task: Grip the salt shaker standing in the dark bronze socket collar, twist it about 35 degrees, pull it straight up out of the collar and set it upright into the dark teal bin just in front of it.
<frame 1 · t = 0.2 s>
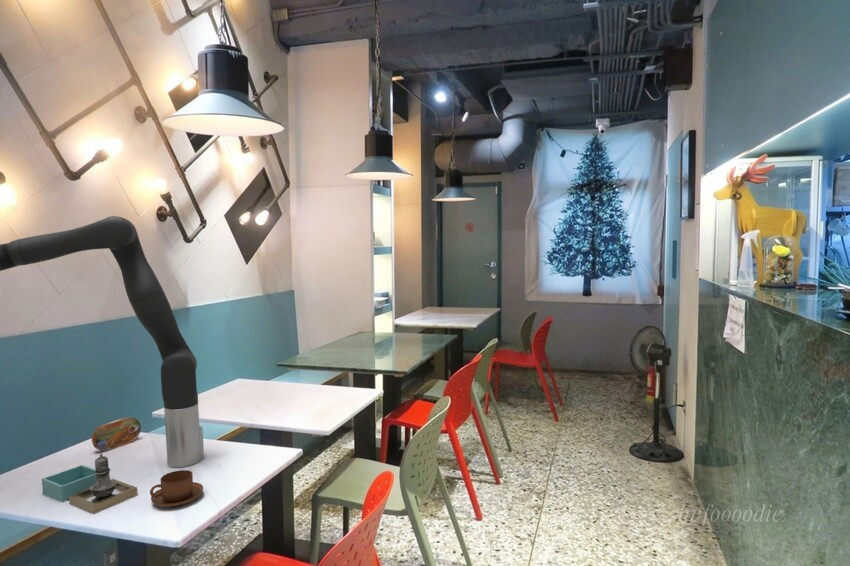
tin: (117, 446, 172), on the table
socket collar: (104, 499, 135), on the table
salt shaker: (104, 499, 135), resting in socket collar
cup and saucer: (178, 500, 134), on the table
bin: (73, 489, 141), on the table
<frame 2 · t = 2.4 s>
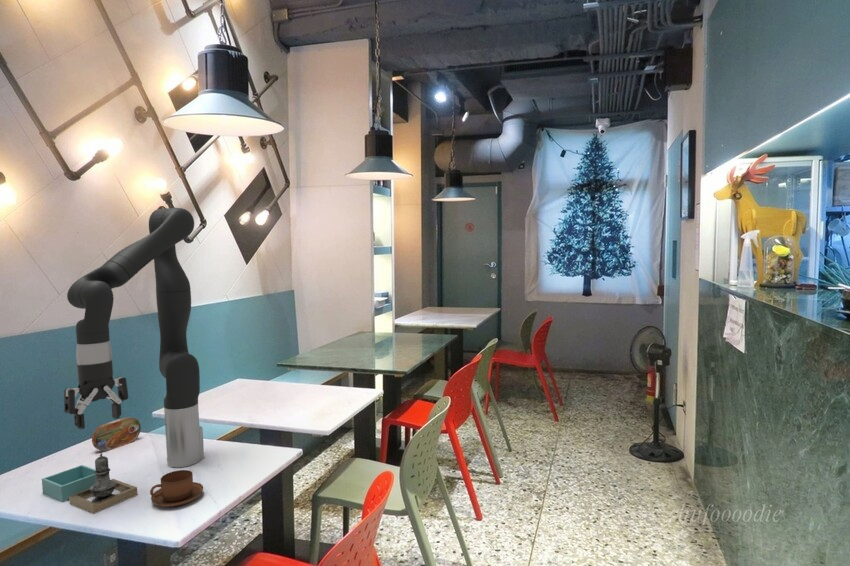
hand: (98, 423, 133), 20 cm above the table, tool pointing down, fingers open, 8 cm apart
nothing on the table moved.
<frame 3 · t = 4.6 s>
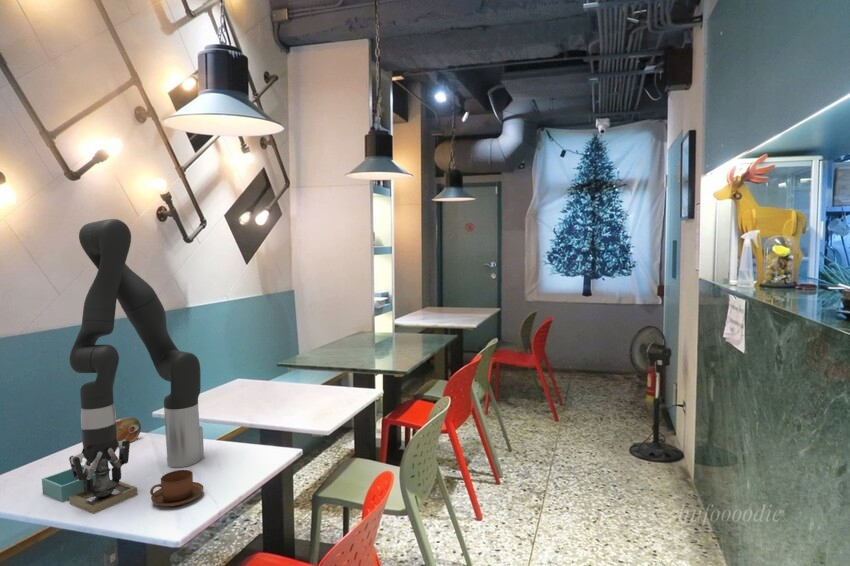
hand: (103, 487, 135), 3 cm above the table, tool pointing down, fingers closed on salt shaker, 6 cm apart
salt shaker: (104, 499, 135), resting in socket collar, touching gripper
everything else where it was.
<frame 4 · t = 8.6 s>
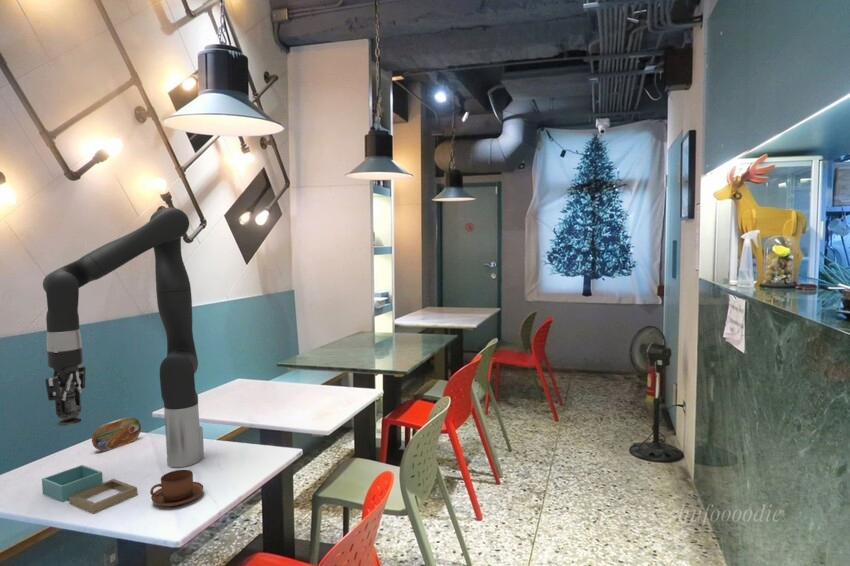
hand: (68, 410, 139), 22 cm above the table, tool pointing down, fingers closed on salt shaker, 6 cm apart
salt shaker: (69, 423, 139), point 18 cm above the table, touching gripper
everything else where it was.
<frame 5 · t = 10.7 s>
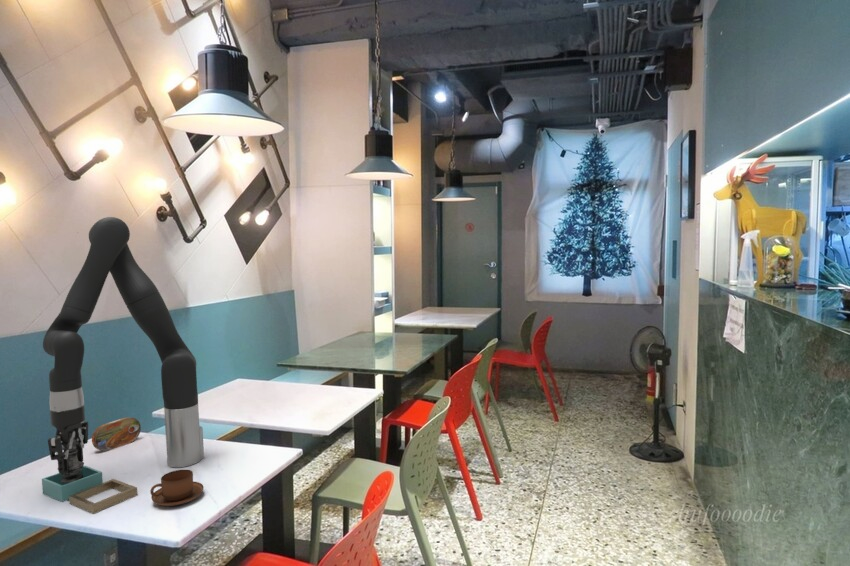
hand: (71, 467, 140), 6 cm above the table, tool pointing down, fingers closed on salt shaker, 6 cm apart
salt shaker: (71, 479, 141), point 3 cm above the table, touching gripper
everything else where it was.
when the fingers open (5 cm above the table, at t = 11.4 s): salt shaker drops 1 cm, resting on bin.
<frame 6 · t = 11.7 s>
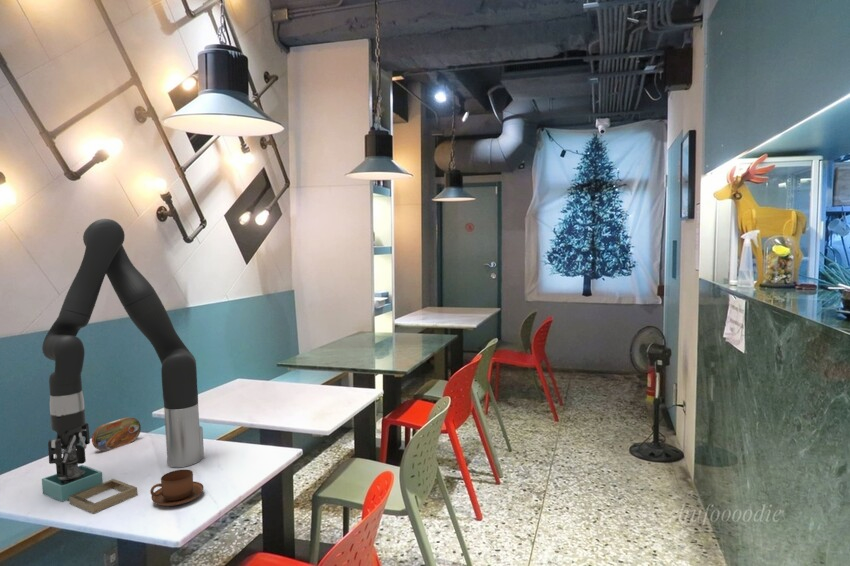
hand: (71, 469, 140), 6 cm above the table, tool pointing down, fingers open, 8 cm apart
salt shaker: (73, 488, 140), resting on bin
everything else where it was.
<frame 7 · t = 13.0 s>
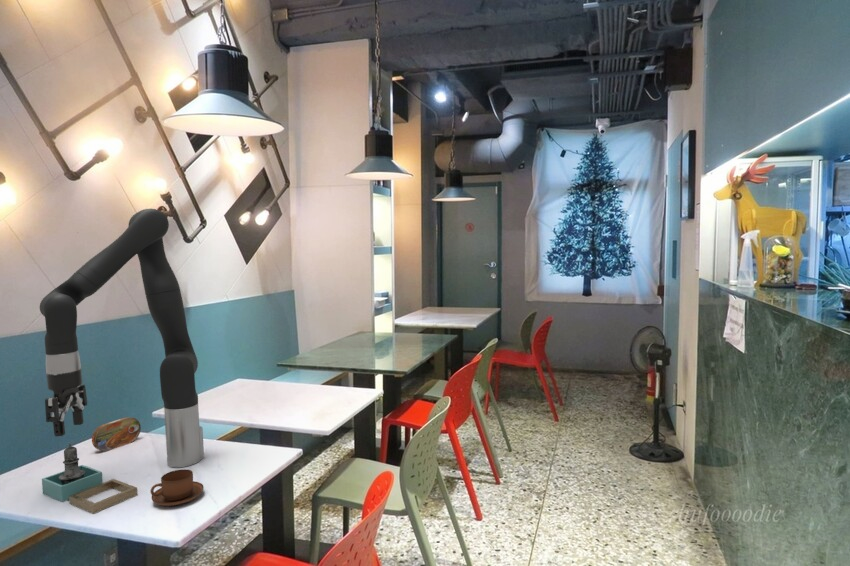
hand: (69, 429, 139), 16 cm above the table, tool pointing down, fingers open, 8 cm apart
nothing on the table moved.
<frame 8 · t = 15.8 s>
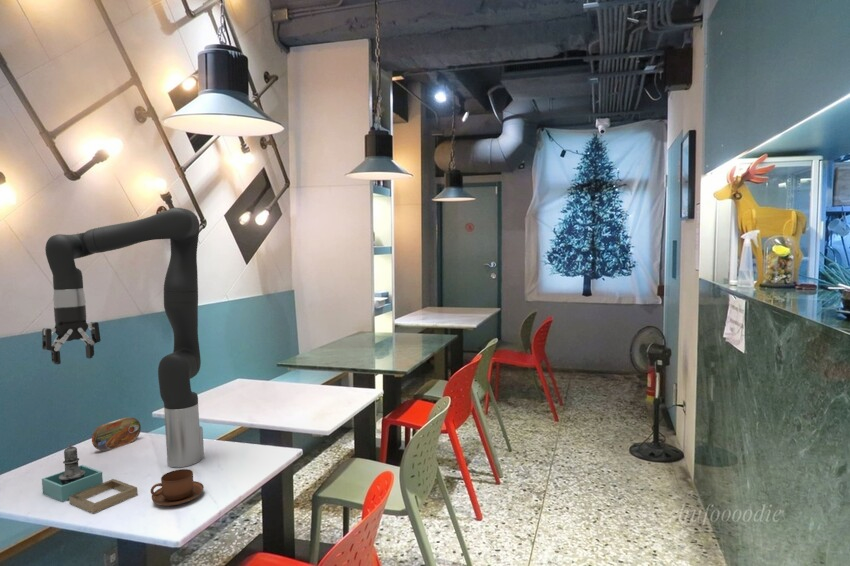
hand: (73, 361, 151), 32 cm above the table, tool pointing down, fingers open, 8 cm apart
nothing on the table moved.
at the end: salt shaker 0.0 cm off-centre on the bin, point 0.4 cm above the bin's base; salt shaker tilted 0°; the gripper is holding nothing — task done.
